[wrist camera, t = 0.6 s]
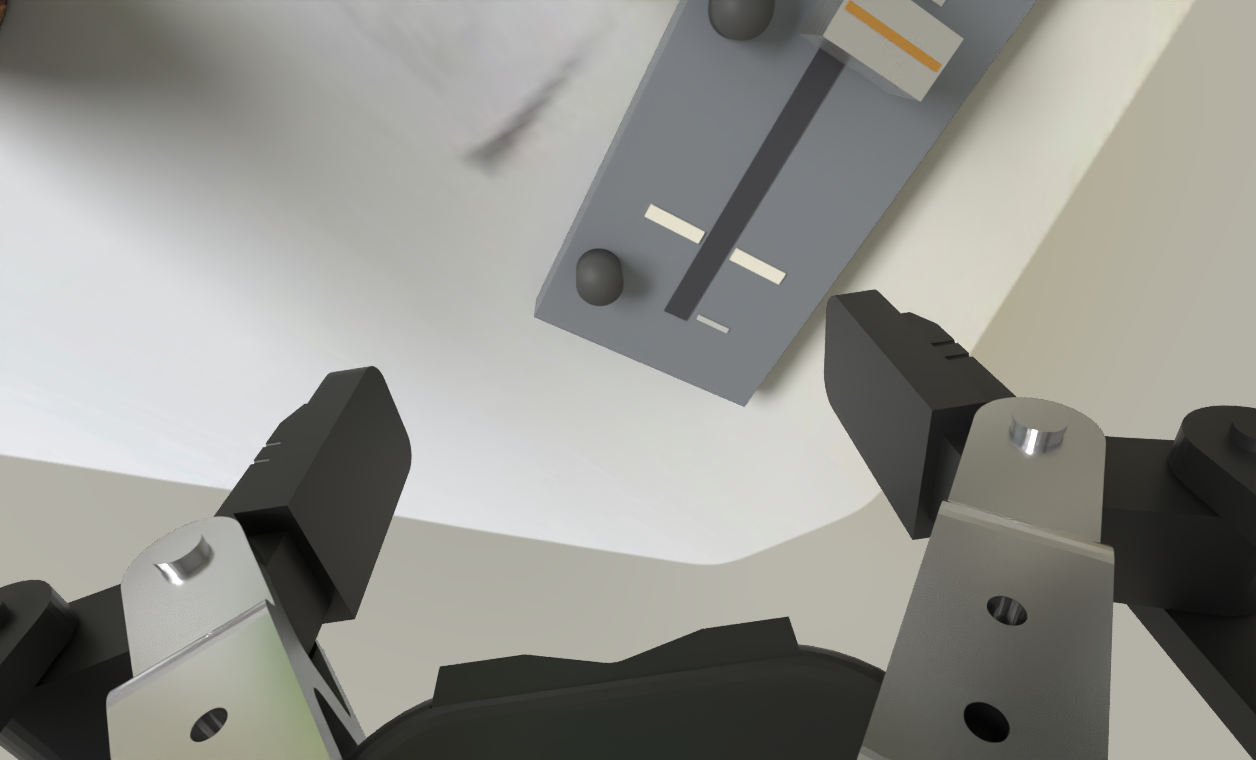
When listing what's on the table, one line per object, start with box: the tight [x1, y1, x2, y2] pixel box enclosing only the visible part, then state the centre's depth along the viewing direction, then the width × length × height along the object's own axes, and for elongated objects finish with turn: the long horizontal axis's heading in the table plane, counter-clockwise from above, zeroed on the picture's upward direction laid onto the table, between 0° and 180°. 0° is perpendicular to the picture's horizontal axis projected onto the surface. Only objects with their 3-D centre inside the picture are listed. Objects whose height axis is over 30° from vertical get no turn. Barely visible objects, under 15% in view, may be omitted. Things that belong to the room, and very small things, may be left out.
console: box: [534, 0, 1036, 407], centre depth 31 cm, size 26×14×4 cm, turn 152°
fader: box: [798, 0, 963, 102], centre depth 25 cm, size 2×5×5 cm, turn 62°
